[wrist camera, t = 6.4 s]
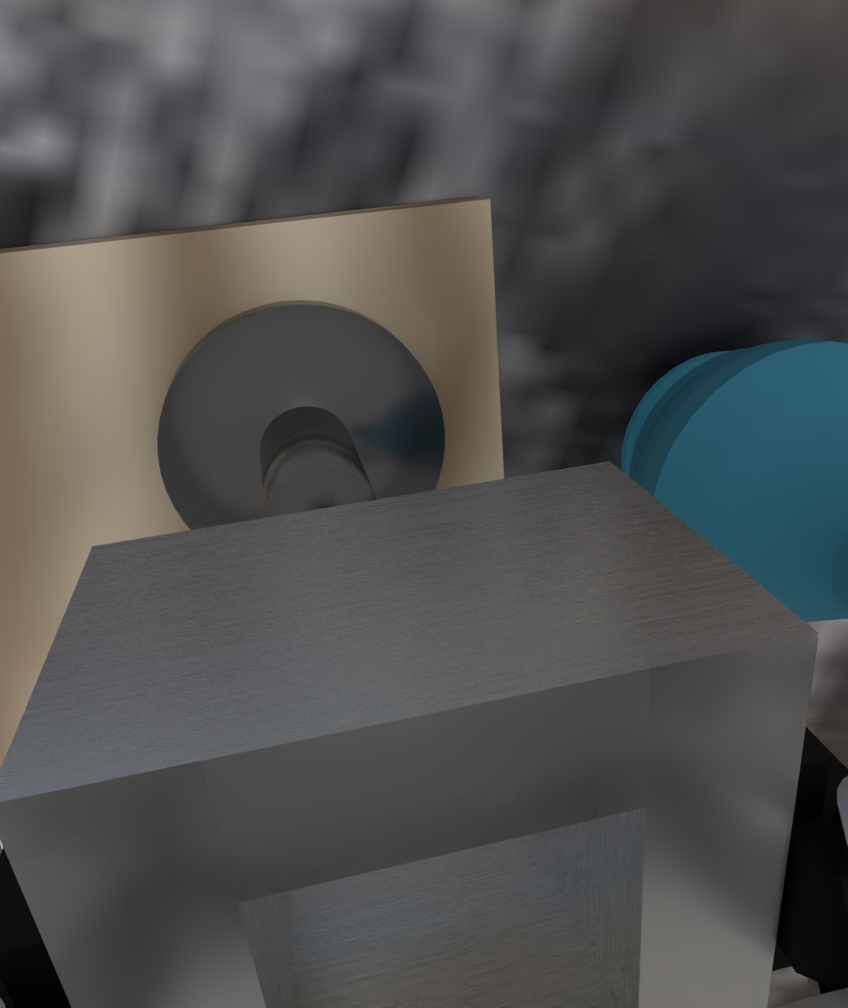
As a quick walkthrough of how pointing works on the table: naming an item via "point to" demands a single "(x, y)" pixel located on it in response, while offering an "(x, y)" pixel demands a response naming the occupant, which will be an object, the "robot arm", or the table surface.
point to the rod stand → (296, 417)
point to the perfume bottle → (756, 463)
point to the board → (160, 351)
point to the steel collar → (415, 760)
